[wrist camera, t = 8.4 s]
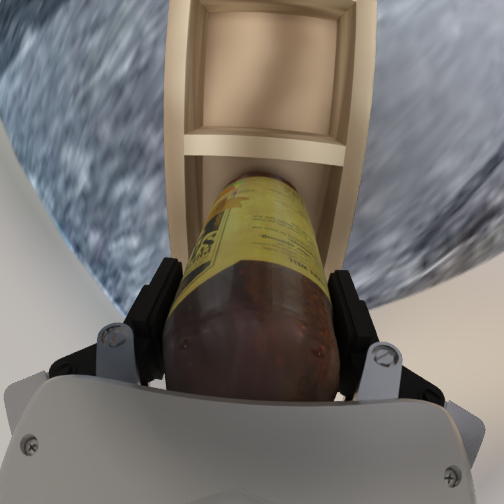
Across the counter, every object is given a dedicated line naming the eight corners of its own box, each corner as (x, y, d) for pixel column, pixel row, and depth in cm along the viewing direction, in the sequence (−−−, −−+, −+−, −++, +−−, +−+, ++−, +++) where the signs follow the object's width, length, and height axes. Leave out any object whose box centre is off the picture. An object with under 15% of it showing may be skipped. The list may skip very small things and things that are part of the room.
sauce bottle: (217, 163, 18) (23, 551, 1) (312, 174, 18) (443, 578, 1) (212, 250, 21) (131, 556, 4) (296, 260, 21) (321, 573, 4)
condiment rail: (349, 14, 15) (376, -9, 9) (320, 263, 26) (331, 307, 20) (196, 4, 15) (172, -23, 10) (193, 254, 26) (175, 296, 21)
